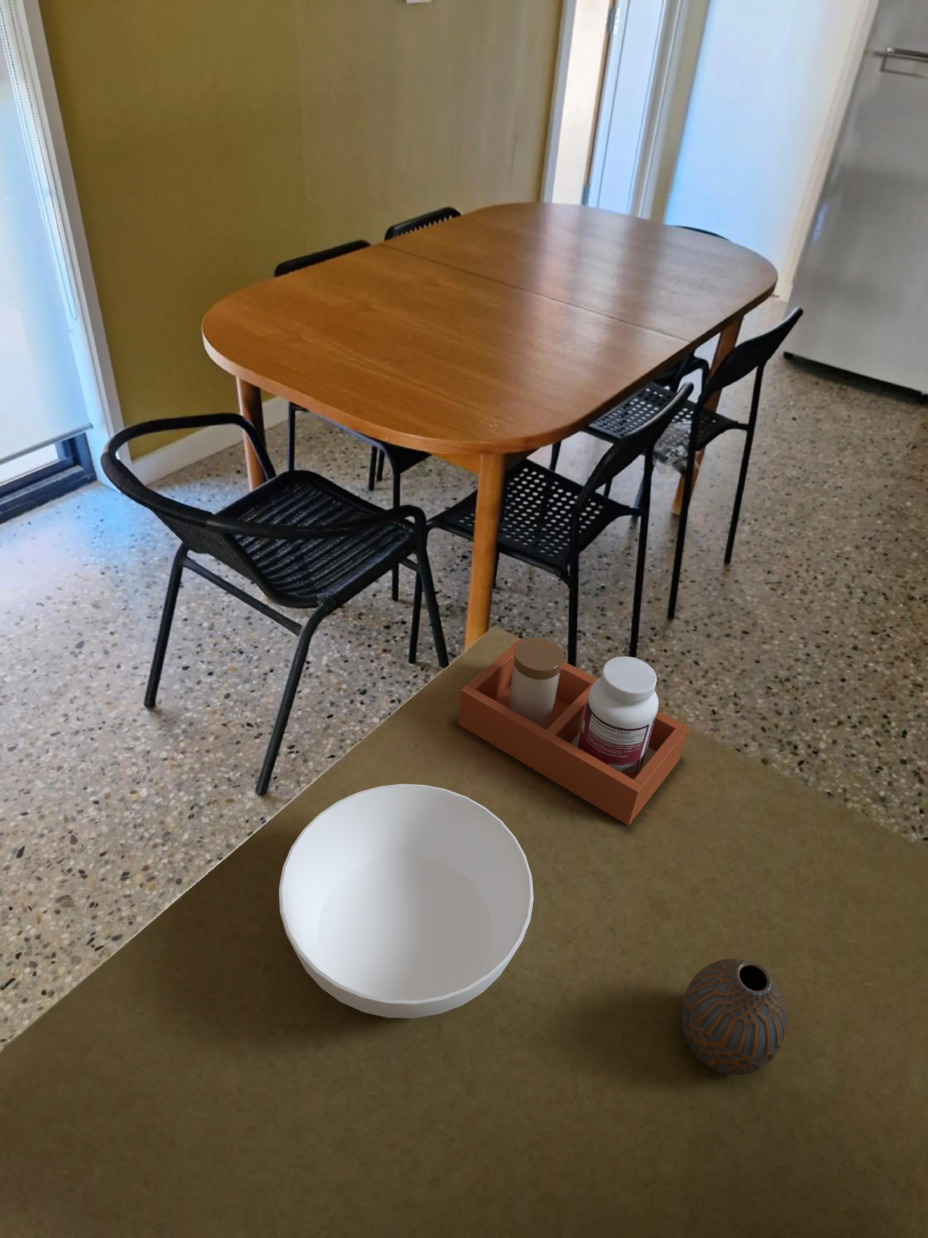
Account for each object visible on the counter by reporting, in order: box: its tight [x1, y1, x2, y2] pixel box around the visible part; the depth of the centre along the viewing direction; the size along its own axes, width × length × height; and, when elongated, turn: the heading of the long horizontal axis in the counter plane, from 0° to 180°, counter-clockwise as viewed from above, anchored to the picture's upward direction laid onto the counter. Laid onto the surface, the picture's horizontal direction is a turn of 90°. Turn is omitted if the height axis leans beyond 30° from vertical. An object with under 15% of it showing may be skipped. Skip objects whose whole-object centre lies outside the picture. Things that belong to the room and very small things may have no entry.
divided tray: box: [457, 638, 690, 826], centre depth 84 cm, size 10×19×5 cm, turn 53°
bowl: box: [278, 783, 535, 1019], centre depth 66 cm, size 18×18×7 cm
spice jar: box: [508, 637, 565, 729], centre depth 84 cm, size 5×5×8 cm
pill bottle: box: [578, 656, 659, 779], centre depth 80 cm, size 6×6×11 cm
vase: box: [680, 958, 788, 1076], centre depth 61 cm, size 7×7×9 cm
